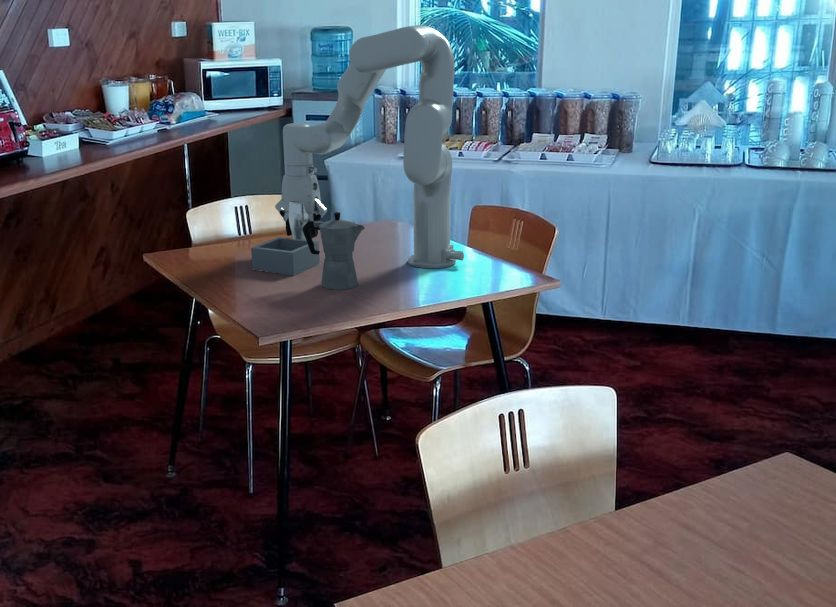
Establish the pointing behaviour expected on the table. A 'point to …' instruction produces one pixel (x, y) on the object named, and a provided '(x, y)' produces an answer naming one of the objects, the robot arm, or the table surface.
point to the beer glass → (297, 219)
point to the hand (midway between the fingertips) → (302, 235)
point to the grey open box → (284, 256)
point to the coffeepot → (336, 251)
